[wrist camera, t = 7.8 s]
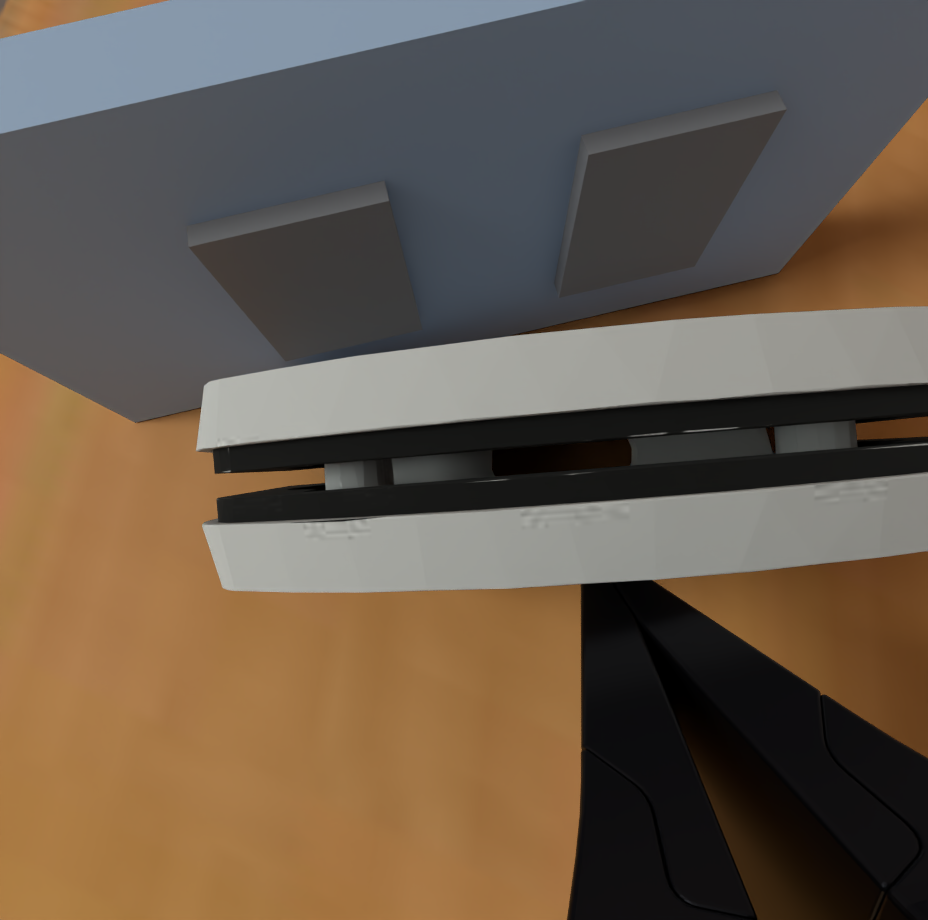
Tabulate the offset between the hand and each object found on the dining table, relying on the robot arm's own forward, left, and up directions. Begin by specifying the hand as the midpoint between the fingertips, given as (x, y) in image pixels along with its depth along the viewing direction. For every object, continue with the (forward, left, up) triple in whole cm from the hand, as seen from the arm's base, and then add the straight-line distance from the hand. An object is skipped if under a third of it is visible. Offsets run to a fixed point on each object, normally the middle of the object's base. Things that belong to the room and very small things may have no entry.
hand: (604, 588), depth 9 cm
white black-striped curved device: (+3, -1, -7) cm, 7 cm away
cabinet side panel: (+9, +1, -7) cm, 12 cm away
